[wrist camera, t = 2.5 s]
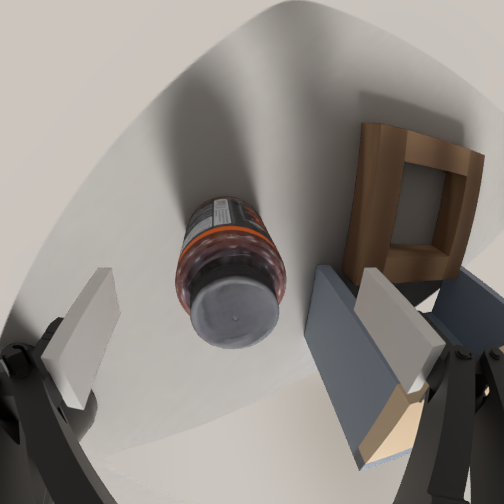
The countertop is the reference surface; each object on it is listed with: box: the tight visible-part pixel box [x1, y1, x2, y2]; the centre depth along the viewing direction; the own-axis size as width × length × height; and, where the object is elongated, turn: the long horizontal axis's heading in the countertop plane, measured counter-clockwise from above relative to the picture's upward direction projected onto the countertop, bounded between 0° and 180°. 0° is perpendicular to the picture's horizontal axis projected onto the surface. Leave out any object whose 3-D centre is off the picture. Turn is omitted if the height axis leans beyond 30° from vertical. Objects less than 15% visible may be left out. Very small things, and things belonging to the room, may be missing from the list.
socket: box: [342, 123, 485, 286], centre depth 23 cm, size 13×13×3 cm
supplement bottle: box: [175, 197, 286, 349], centre depth 18 cm, size 6×6×11 cm
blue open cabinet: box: [304, 265, 504, 471], centre depth 21 cm, size 18×8×16 cm, turn 87°
